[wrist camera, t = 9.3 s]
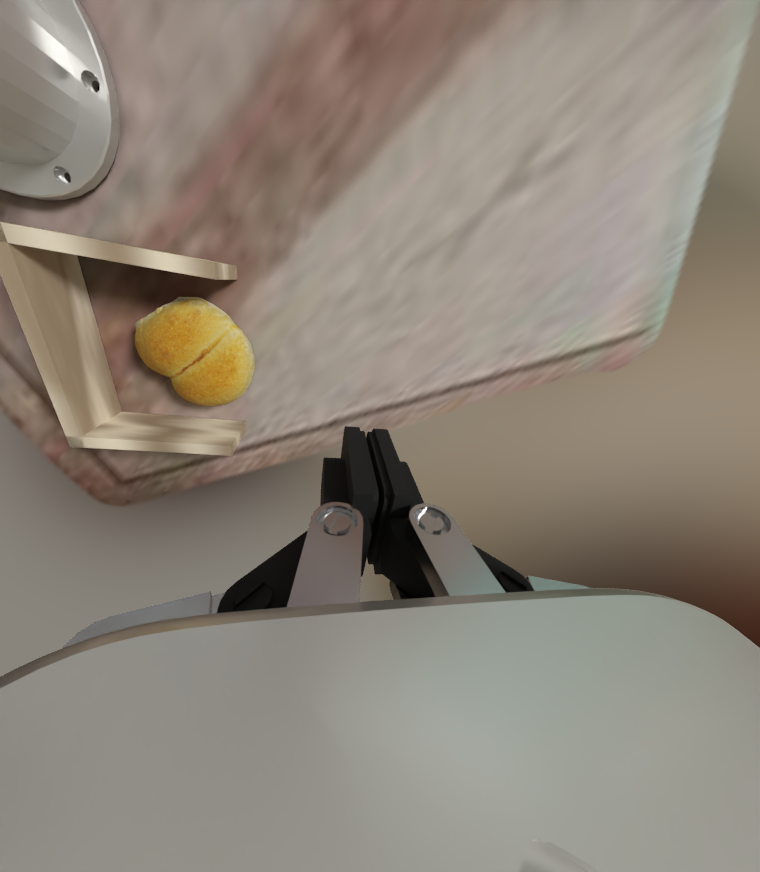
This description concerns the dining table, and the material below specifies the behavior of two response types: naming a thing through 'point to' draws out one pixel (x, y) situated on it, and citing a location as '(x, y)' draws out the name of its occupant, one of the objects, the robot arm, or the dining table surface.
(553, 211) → the dining table surface
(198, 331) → the bread roll
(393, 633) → the robot arm
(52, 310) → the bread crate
